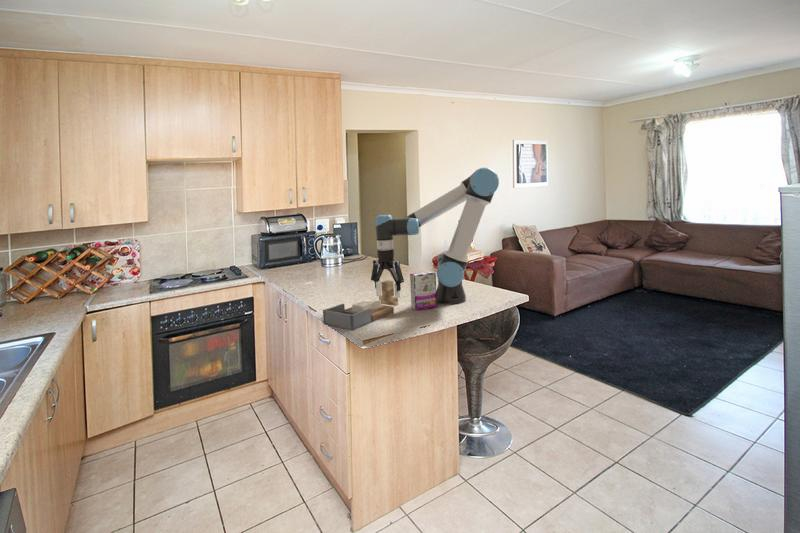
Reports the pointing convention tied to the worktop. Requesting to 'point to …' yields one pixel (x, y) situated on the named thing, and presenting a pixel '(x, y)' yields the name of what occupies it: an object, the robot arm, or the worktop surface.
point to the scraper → (388, 294)
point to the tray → (346, 317)
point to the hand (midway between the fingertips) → (388, 296)
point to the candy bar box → (423, 290)
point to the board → (379, 312)
